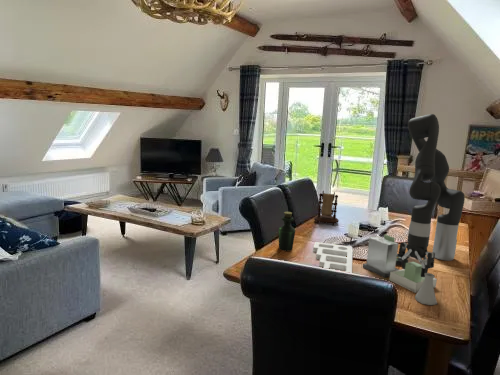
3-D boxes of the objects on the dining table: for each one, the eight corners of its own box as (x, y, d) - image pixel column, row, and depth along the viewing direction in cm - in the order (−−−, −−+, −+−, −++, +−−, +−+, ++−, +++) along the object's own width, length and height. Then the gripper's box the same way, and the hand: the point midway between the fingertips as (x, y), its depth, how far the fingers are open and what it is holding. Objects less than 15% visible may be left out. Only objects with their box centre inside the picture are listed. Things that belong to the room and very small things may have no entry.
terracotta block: (410, 269, 163) (412, 254, 161) (419, 273, 159) (422, 258, 158) (403, 271, 160) (405, 255, 159) (412, 275, 157) (414, 259, 155)
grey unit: (379, 263, 167) (382, 231, 165) (401, 274, 157) (405, 239, 155) (362, 267, 163) (366, 233, 160) (384, 277, 152) (388, 242, 150)
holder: (350, 290, 140) (351, 283, 140) (302, 282, 145) (303, 276, 144) (351, 252, 183) (352, 246, 183) (314, 246, 188) (315, 241, 187)
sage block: (411, 278, 151) (413, 261, 150) (420, 282, 147) (423, 265, 146) (403, 279, 149) (405, 263, 147) (413, 284, 145) (415, 267, 144)
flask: (430, 296, 137) (434, 270, 136) (441, 306, 130) (445, 279, 129) (411, 296, 137) (414, 270, 135) (420, 305, 130) (424, 278, 128)
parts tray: (409, 275, 156) (410, 267, 155) (435, 287, 146) (436, 278, 145) (389, 280, 150) (390, 271, 150) (415, 292, 140) (416, 283, 139)
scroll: (312, 224, 228) (315, 191, 225) (315, 218, 242) (318, 188, 239) (337, 227, 224) (340, 194, 221) (339, 221, 238) (342, 190, 234)
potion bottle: (295, 247, 183) (298, 211, 180) (292, 252, 176) (295, 215, 172) (278, 245, 185) (281, 209, 182) (275, 250, 178) (278, 213, 175)
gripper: (397, 228, 149) (392, 267, 151) (429, 239, 136) (423, 281, 139) (409, 227, 152) (404, 264, 155) (442, 237, 140) (436, 278, 143)
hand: (413, 272), depth 147 cm, fingers open, 8 cm apart
